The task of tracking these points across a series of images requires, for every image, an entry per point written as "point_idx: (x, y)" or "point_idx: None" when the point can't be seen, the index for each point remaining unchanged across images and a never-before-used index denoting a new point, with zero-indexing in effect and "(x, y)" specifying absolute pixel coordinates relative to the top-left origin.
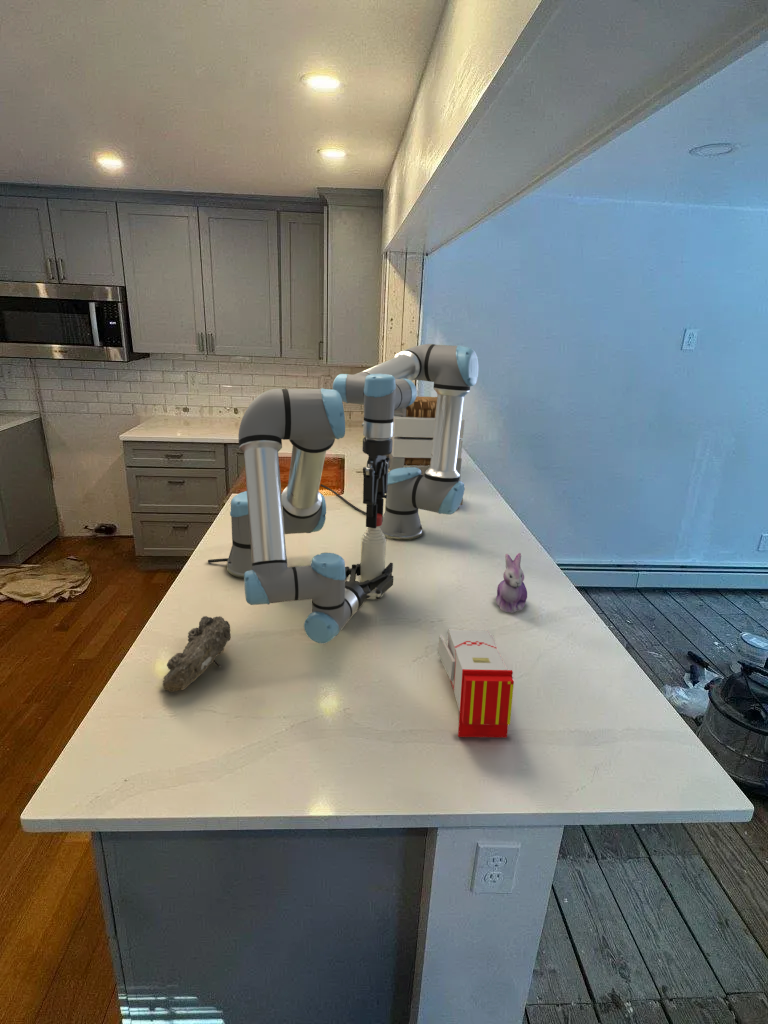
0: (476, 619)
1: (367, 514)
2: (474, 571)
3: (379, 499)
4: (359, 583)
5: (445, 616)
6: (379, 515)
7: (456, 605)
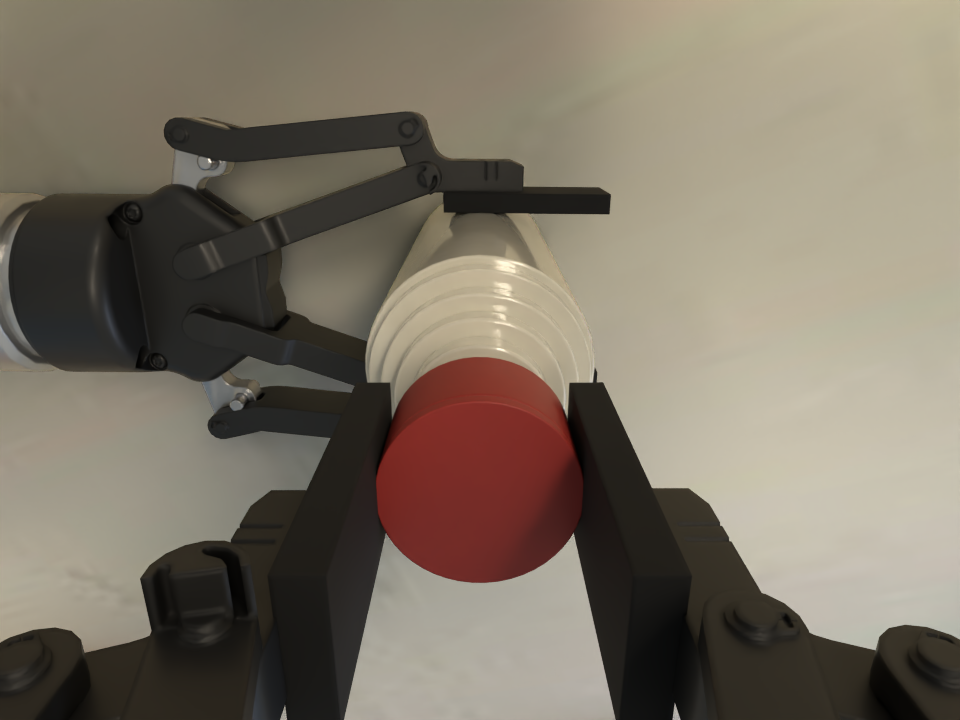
0: (455, 687)
1: (251, 514)
2: (888, 614)
3: (619, 679)
4: (196, 319)
5: (425, 595)
6: (503, 548)
7: (532, 611)
